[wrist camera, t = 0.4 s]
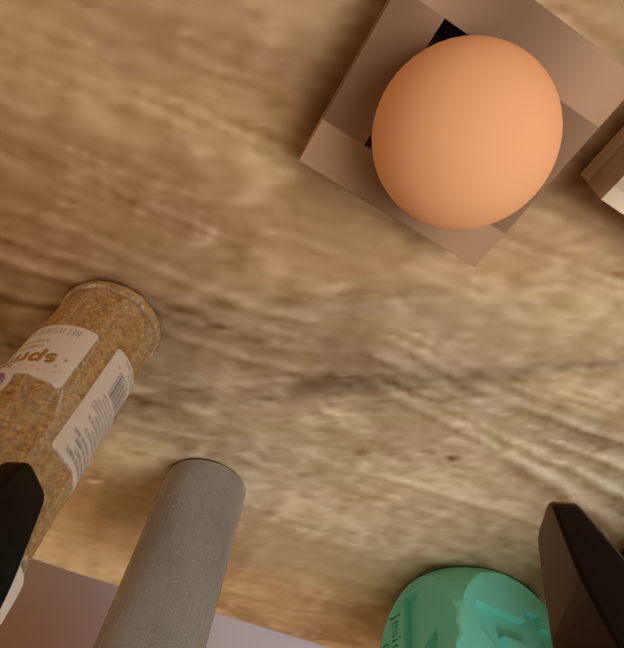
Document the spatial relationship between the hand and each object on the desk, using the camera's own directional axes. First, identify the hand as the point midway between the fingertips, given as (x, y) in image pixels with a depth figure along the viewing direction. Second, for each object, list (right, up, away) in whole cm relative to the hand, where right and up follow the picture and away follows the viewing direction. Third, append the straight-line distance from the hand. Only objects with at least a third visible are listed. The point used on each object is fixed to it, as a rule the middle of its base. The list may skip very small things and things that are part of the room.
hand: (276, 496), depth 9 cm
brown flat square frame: (+5, +10, +8) cm, 14 cm away
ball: (+5, +9, +8) cm, 13 cm away
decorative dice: (+10, -14, +25) cm, 31 cm away
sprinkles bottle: (-8, +3, +15) cm, 18 cm away
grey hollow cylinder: (-5, -6, +21) cm, 23 cm away
